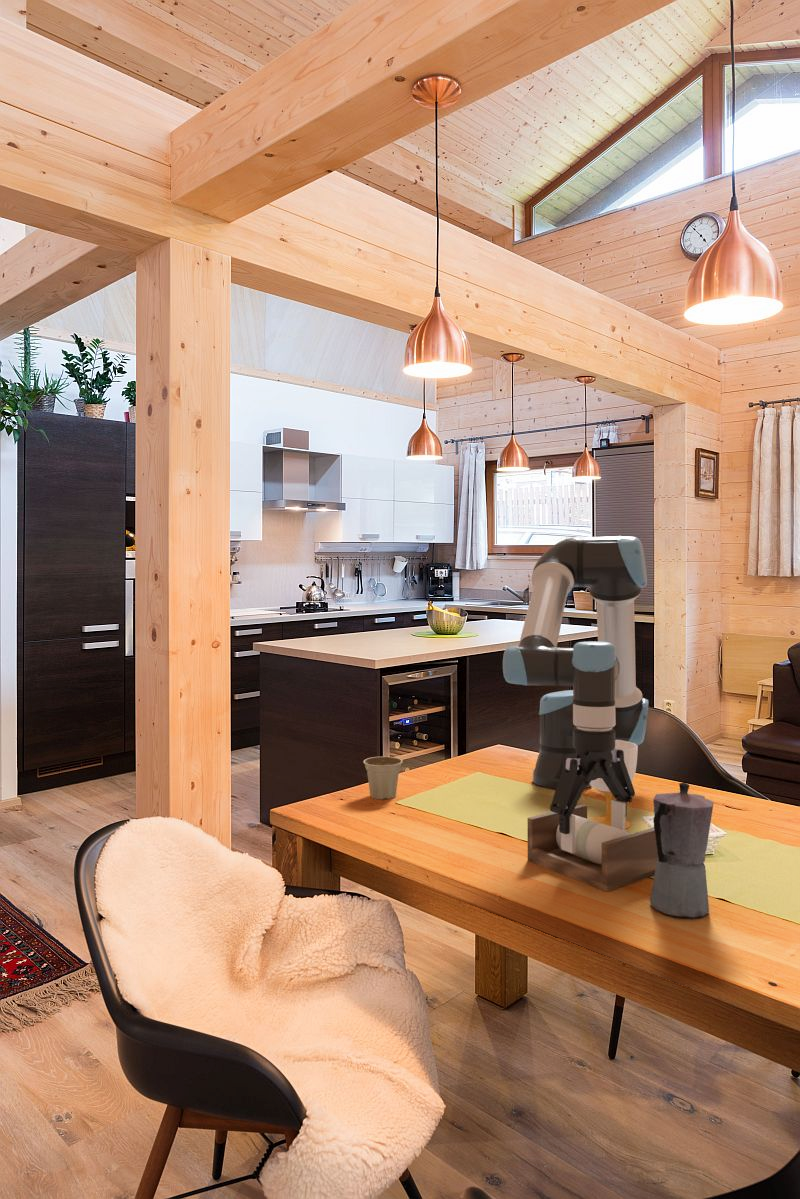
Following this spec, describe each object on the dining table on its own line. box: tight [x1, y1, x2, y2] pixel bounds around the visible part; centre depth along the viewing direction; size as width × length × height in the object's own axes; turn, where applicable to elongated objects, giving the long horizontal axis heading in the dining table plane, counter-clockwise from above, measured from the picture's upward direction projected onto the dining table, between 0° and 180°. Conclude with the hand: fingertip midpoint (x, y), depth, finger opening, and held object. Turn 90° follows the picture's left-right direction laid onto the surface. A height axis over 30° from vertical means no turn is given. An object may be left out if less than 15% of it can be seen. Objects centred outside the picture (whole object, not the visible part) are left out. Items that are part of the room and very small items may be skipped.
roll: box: [556, 814, 631, 865], centre depth 149 cm, size 12×7×7 cm, turn 35°
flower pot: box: [363, 756, 403, 800], centre depth 197 cm, size 9×9×9 cm
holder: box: [527, 803, 658, 892], centre depth 149 cm, size 19×15×8 cm
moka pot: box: [649, 782, 714, 918], centre depth 129 cm, size 10×15×20 cm, turn 138°
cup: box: [588, 740, 639, 830], centre depth 174 cm, size 12×12×17 cm
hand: (593, 843), depth 149 cm, fingers open, 13 cm apart
